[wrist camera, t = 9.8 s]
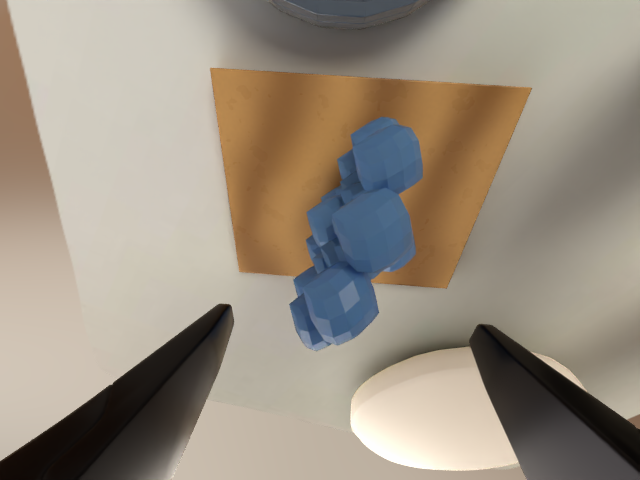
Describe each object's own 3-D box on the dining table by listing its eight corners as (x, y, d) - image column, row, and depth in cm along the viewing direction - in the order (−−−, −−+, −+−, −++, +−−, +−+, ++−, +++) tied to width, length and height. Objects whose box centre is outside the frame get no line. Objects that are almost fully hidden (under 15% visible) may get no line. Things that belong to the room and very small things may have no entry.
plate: (658, 434, 25) (459, 490, 36) (595, 373, 30) (439, 439, 42) (512, 363, 16) (311, 467, 28) (461, 294, 21) (311, 405, 33)
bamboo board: (521, 89, 15) (532, 87, 14) (442, 281, 23) (446, 288, 22) (216, 70, 15) (209, 67, 14) (242, 266, 23) (239, 272, 22)
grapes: (360, 268, 21) (385, 422, 11) (291, 244, 20) (244, 384, 10) (435, 142, 16) (641, 201, 5) (346, 101, 15) (374, 69, 4)
